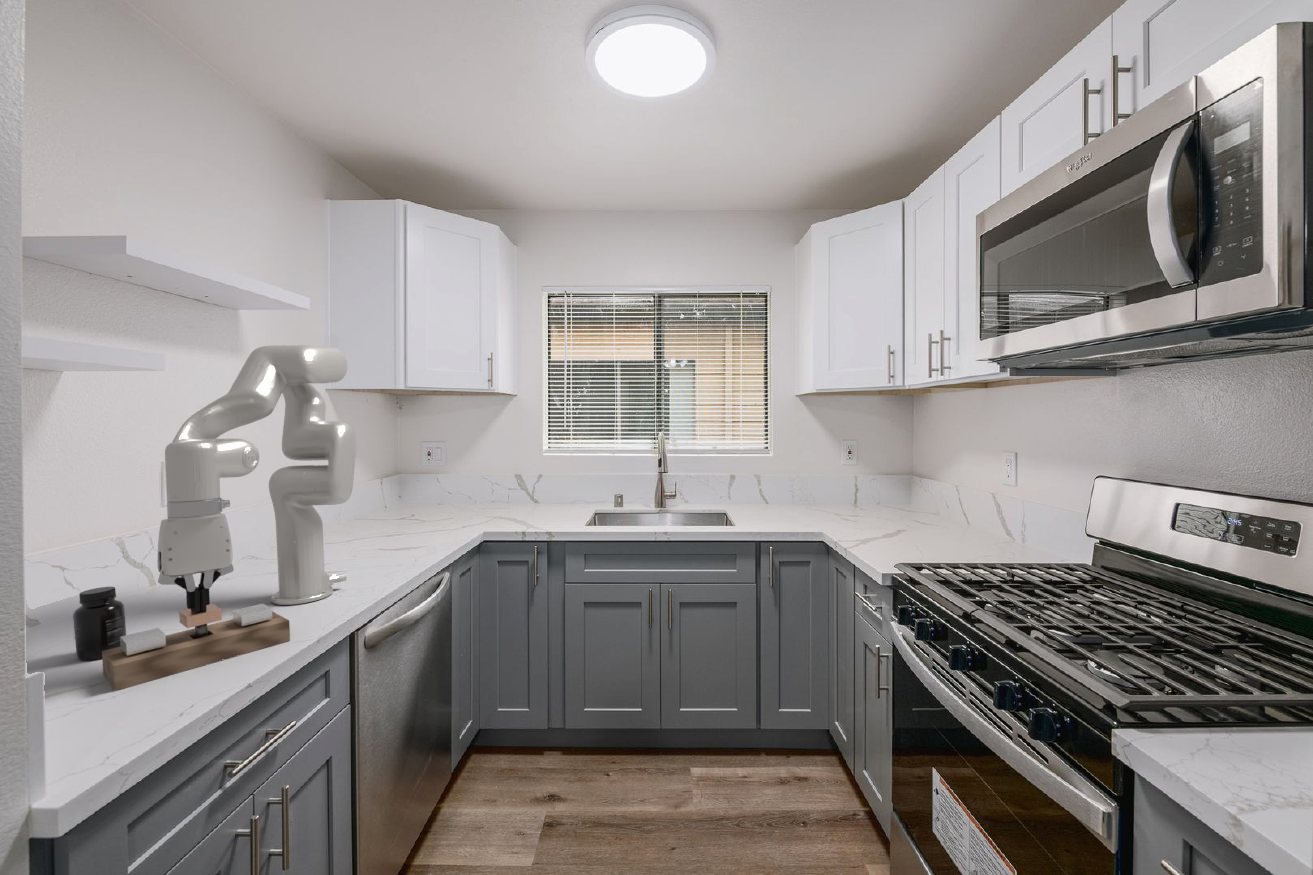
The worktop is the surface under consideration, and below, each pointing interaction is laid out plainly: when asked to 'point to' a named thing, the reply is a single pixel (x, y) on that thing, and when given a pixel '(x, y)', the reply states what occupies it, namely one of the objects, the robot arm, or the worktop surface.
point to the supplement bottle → (98, 623)
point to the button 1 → (142, 641)
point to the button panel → (192, 651)
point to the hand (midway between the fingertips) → (198, 610)
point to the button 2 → (252, 614)
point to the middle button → (200, 619)
